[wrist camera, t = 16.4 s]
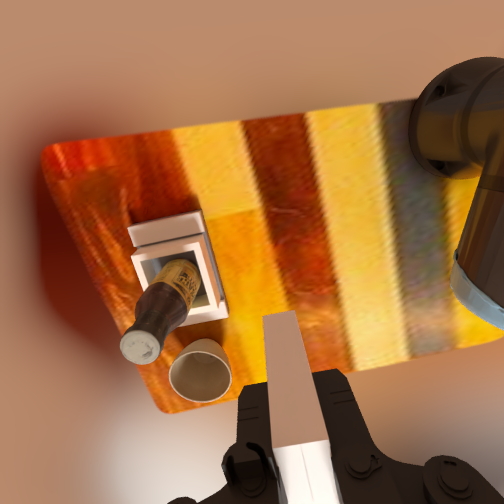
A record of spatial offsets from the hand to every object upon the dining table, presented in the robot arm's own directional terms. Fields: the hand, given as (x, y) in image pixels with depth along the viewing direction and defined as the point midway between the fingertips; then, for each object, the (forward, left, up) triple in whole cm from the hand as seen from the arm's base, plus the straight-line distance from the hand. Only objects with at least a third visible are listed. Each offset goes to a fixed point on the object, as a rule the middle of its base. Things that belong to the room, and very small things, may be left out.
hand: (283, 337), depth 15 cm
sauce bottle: (+14, +8, -33) cm, 37 cm away
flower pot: (+15, +24, -35) cm, 45 cm away
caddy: (+14, +8, -34) cm, 38 cm away
